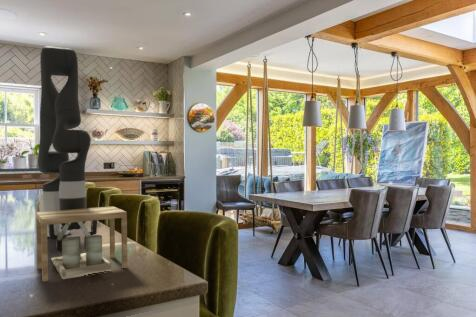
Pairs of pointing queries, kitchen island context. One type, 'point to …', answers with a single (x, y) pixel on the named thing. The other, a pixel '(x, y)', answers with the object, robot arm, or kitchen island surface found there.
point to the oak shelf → (78, 216)
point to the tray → (81, 257)
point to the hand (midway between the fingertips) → (73, 250)
